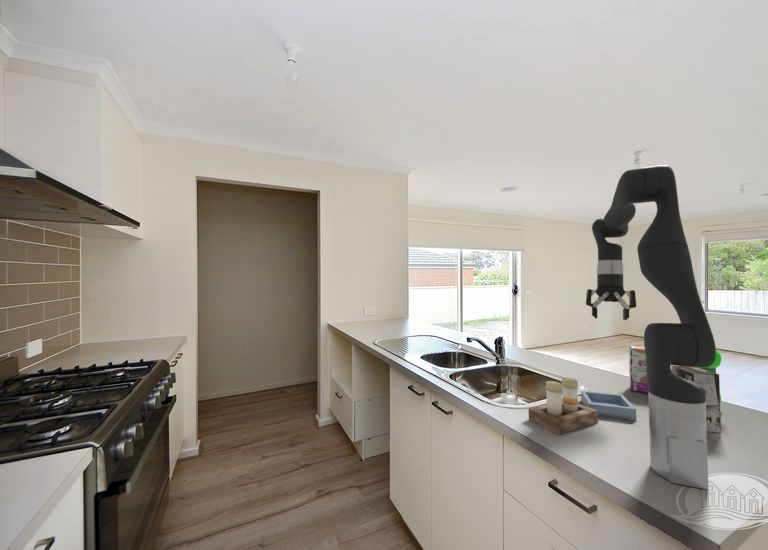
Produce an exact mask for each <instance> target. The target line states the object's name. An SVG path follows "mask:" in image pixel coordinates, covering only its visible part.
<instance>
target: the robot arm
mask: <svg viewBox="0 0 768 550" xmlns="http://www.w3.org/2000/svg"><path fill="white" fill-rule="evenodd" d="M652 202H654V203H655V204H656V214H655V215H654V218H653V221H652V222H651V224H650V225H649V226H648V228H647V229H646V231H645V232H644V234H643V235H642V237H641V239H640V240H639V242H638V245H637V249H636V251H637V255H638V262H639V269H640V272H641V275H643V277H644V278H645V280H647V281H648V282H649V283H650V285H651V286H653V287H654V289H656V291H658V292H659V293H661V295H663V297H665V298H666V299H667V300H668V301H669V303H670V304H671V306H672V307H673V308H674V310H675V311H676V312H675V313H676V314H677V317H678V319H679V322H680V323H677V322H675V323H674V322H651V323H649V324H647V326H646V327H645V329H644V333H643V342H644V343H643V344H644V346H643V347H645V355H646V368H647V379H648V391H649V393H648V421H649V422H648V423H649V425H648V427H649V455H650V457H649V458H650V460H649V461H650V468H651V469H652V471H654V472H655V473H656V474H658V475H659V476H662V477H663V478H665V479H666V480H668V482H669V483H671V484H677V485H680V486H681V485H682V486H687V487H692V488H697V489H698V488H700V489H704V490H709V467H708V466H709V465H708V463H709V462H708V461H709V459H708V439H707V438H708V437H707V436H708V434H707V433H708V432H707V429H706V394H705V390H704V388H703V387H702V386H700V385H699V384H697V383H695V382H692V381H689V380H686V379H683V378H681V377H678V376H676V375H674V374H673V373H672V372H671V366H691V367H709V366H711V365H712V364H713V363H714V362H715V358H716V350H717V347H716V342H715V339H714V337H715V336H714V334H713V331H712V329H711V325H710V323H709V320H708V317H707V315H706V312H705V309H704V307H703V304H702V300H701V297H700V295H699V291H698V287H697V282H696V277H695V273H694V267H693V263H692V259H691V254H690V248H689V245H688V241H687V239H686V235H685V231H684V227H683V224H682V218H681V214H680V213H681V212H680V207H679V205H680V204H679V197H678V188H677V180H676V175H675V172H674V170H673V168H672V167H671V166H670V165H666V164H660V165H652V166H651V165H650V166H645V167H643V166H642V167H637V168H636V167H635V168H631V169H628V170H626V171H624V172H623V173H622V174H621V176H620V177H619V180H618V182H617V185H616V189H615V191H614V195H613V197H612V202H611V205H610V207H609V208H608V211H607V212H606V214H605V216H603V217H604V218H602V217H601V218H598V219H597V218H596V219H595V220H594V222H593V223H592V225H591V232H592V234H593V237H594V240H595V243H596V247H597V266H596V267H597V268H596V273H597V274H596V280H597V281H596V286H597V288H596V289H591V288H587V289H586V294H585V295H586V296H585V297H586V299H585V305H586V306H588V307H590V308H591V316H592V317H593V318H594V319H598V306H599V305H600V304H602V302H606V303H608V302H609V303H610V302H611V303H618V304H620V306H621V307H622V308H623V309H622V320H623V321H627V320H628V319H629V318H630V310H631V309H634V308H637V298H636V291H635V290H633V289H631V290H625V289H624V264H623V246H622V245H621V244H619V243H613V242H609V241H608V240H607V239H611V238H614V239H615V238H622V237H624V236H626V235H627V234H628V231H629V223H630V222H631V221H632V220H633V219H634V218H635V215H636V210H637V208H636V206H635V204H641V203H652ZM606 238H607V239H606ZM595 294H596V295H597V296H598V297H597V298H596V300H595V301H594V302H592V296H594V295H595ZM625 295H626V296H627V297H628V298H629V304H628V303H627V302H626V301H625V299H624V298H623V297H624V296H625Z"/></svg>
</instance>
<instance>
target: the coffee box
mask: <svg viewBox="0 0 768 550" xmlns="http://www.w3.org/2000/svg"><path fill="white" fill-rule="evenodd" d="M670 367H671V372H672V373H673V374H674V375H676V376H678V377H681V378H683V379H686V380H689V381H692V382H695V383H697V384H699V385H700V386H702V387H703V388H704V390H705V394H706V429H707V433H709V432H710V433H719V434H721V432H722V421H721V420H722V419H721V418H722V417H721V402H720V395H721V388H720V374H719V373H717V372H716V373H713V372H711V371H708V370H705V369H702V368H699V367H691V366H677V365H670Z"/></svg>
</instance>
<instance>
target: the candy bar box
mask: <svg viewBox="0 0 768 550" xmlns="http://www.w3.org/2000/svg"><path fill="white" fill-rule="evenodd" d="M628 350H629V351H628V352H629V353H628V354H629V355H628V359H629V360H628V361H629V362H628V363H629V368H628V369H629V372H628V374H629V388H630V391H631V392H638V393H641V394H642V393H644V394H649V391H648V379H647V368H646V355H645V346H635V345H629V346H628Z"/></svg>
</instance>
